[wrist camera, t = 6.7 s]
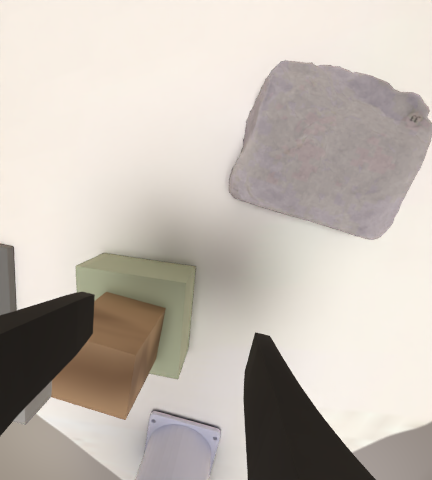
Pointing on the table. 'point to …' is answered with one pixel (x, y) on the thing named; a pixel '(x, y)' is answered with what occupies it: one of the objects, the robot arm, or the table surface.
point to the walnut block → (113, 356)
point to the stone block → (331, 147)
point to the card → (7, 280)
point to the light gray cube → (34, 405)
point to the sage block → (148, 298)
